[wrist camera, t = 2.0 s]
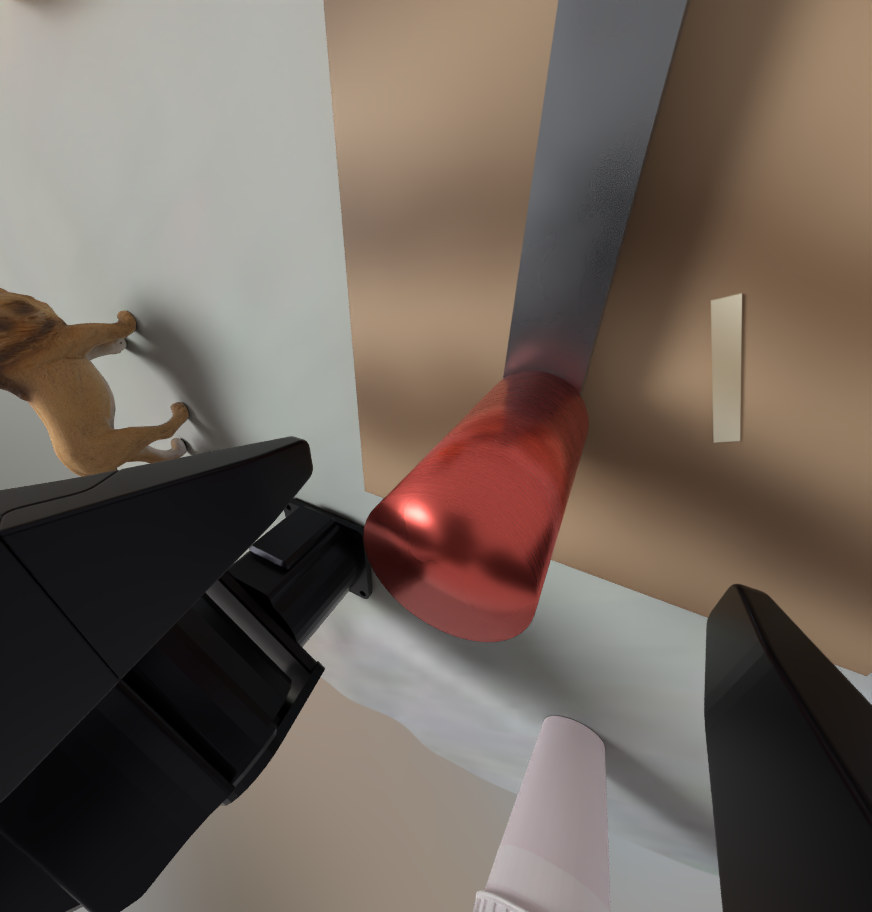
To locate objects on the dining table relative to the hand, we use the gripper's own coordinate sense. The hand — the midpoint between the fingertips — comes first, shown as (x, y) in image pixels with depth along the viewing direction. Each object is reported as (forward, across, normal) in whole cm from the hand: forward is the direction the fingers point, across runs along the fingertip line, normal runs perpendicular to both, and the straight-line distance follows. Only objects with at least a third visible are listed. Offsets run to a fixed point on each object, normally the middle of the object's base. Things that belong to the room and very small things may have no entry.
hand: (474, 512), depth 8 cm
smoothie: (+8, -6, +22) cm, 24 cm away
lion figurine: (+8, +27, +4) cm, 28 cm away
